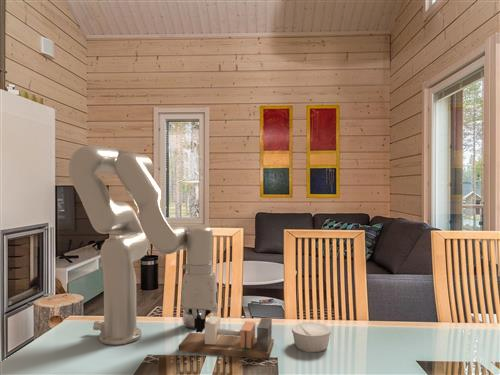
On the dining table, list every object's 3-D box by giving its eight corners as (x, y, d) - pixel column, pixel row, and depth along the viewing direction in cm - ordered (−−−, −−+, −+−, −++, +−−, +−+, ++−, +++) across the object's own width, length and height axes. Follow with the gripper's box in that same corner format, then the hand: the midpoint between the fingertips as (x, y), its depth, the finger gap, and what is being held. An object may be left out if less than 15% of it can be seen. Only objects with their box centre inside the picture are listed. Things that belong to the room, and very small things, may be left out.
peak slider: (239, 349, 115) (239, 331, 115) (245, 337, 123) (245, 321, 123) (250, 350, 115) (250, 332, 114) (255, 338, 123) (255, 322, 123)
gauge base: (178, 350, 118) (178, 323, 118) (189, 337, 128) (189, 311, 128) (268, 358, 114) (269, 330, 113) (273, 344, 123) (273, 317, 123)
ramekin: (284, 346, 122) (284, 328, 122) (306, 335, 130) (306, 319, 130) (316, 358, 115) (316, 339, 114) (337, 346, 123) (337, 328, 123)
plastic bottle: (199, 330, 134) (199, 269, 133) (179, 329, 135) (179, 268, 134) (205, 323, 140) (205, 264, 139) (186, 322, 141) (186, 263, 141)
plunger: (204, 343, 119) (204, 323, 119) (210, 335, 125) (210, 316, 125) (240, 346, 117) (240, 325, 117) (244, 338, 123) (244, 318, 123)
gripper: (170, 270, 119) (171, 333, 120) (221, 273, 117) (221, 337, 117) (180, 265, 127) (180, 324, 127) (227, 267, 124) (227, 327, 125)
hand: (200, 330), depth 122 cm, fingers closed
